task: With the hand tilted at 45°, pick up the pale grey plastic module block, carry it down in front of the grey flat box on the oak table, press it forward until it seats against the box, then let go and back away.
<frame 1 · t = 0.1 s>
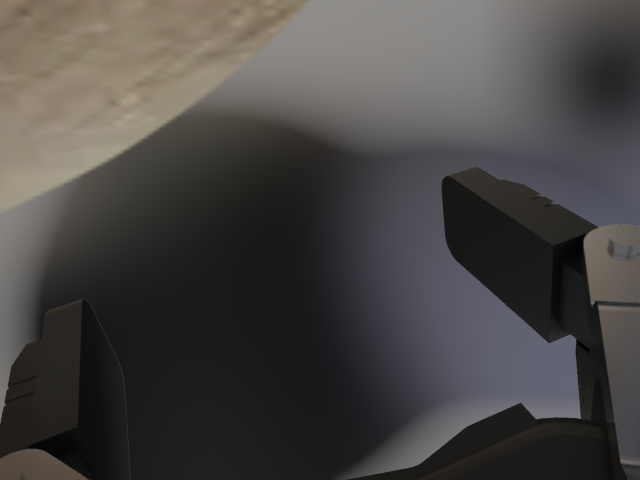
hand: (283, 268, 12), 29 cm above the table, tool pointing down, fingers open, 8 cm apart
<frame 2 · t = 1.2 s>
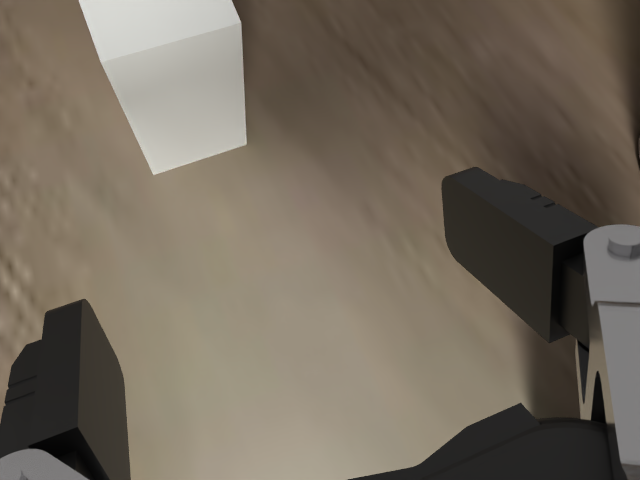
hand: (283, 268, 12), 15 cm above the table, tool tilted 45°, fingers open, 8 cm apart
module: (188, 126, 29), on the table
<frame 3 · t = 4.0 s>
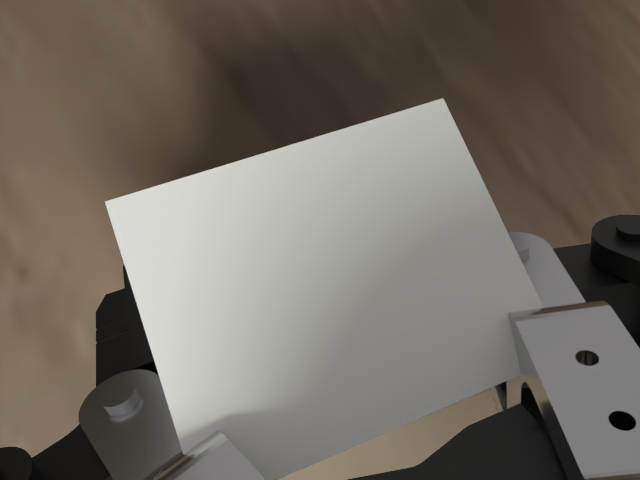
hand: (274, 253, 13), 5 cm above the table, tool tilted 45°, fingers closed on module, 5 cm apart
module: (291, 348, 17), on the table, touching gripper
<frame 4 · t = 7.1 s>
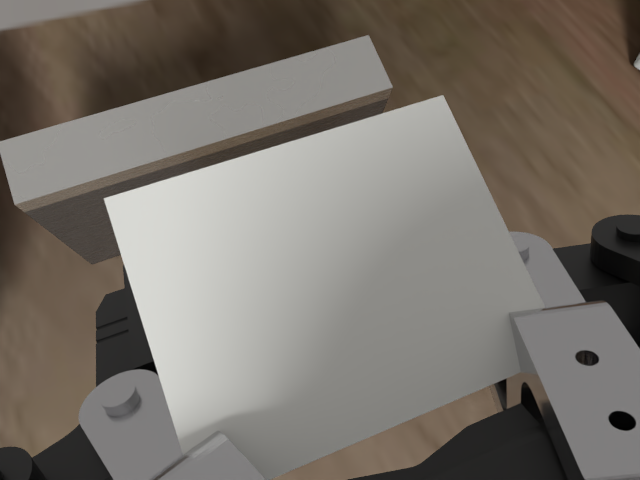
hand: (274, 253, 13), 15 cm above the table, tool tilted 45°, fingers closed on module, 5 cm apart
module: (290, 346, 17), point 10 cm above the table, touching gripper
grey flat box: (222, 196, 29), on the table
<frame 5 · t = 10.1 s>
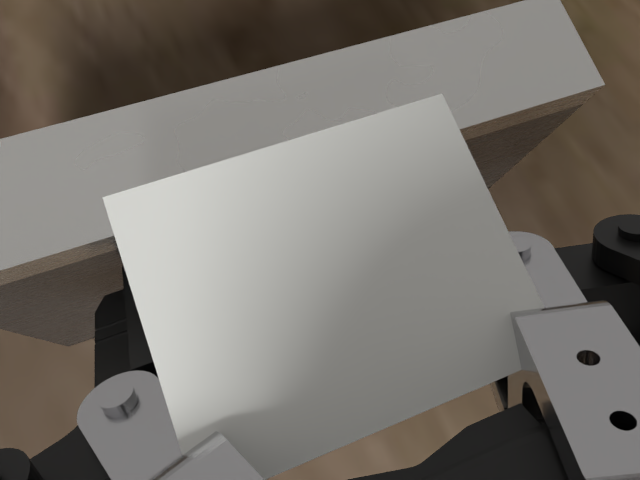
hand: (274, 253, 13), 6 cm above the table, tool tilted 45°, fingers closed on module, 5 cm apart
module: (290, 344, 17), point 2 cm above the table, touching gripper
grey flat box: (266, 242, 19), on the table
when the fingers open (6 cm above the table, at t = 10.5 s): module drops 2 cm, on the table.
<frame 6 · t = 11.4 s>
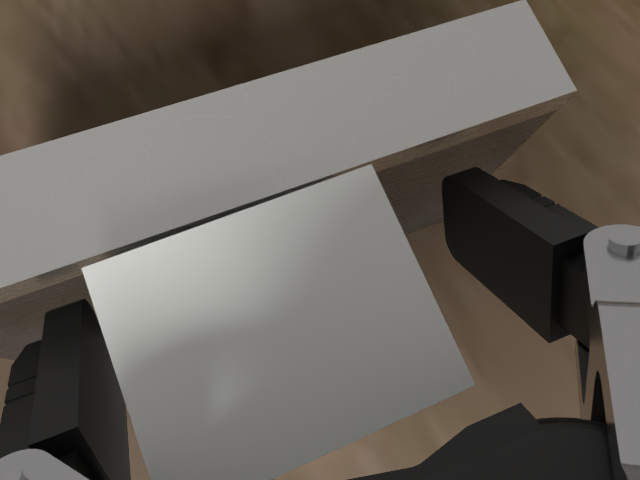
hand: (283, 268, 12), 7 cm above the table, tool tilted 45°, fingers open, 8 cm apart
module: (269, 365, 18), on the table
grey flat box: (251, 255, 19), on the table
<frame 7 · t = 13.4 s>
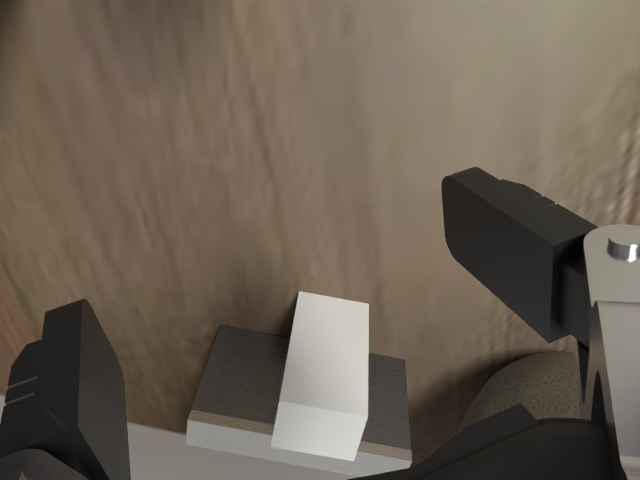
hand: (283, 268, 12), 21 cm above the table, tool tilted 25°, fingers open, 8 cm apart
cantaloupe: (531, 382, 43), on the table
module: (329, 319, 41), on the table
grey flat box: (310, 354, 42), on the table
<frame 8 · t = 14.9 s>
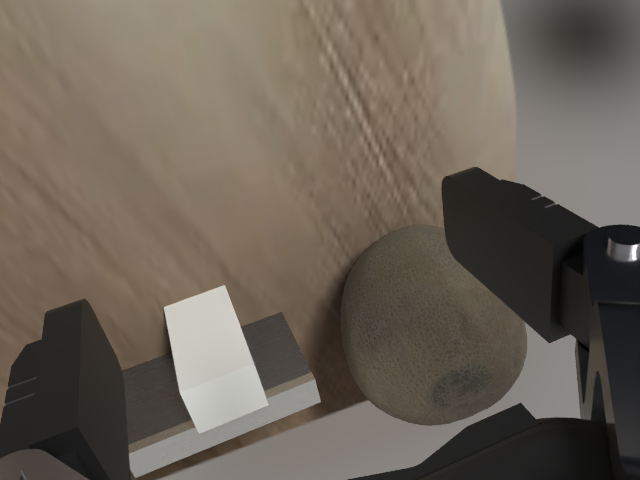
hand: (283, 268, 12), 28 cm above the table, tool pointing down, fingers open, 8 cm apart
cantaloupe: (384, 272, 50), on the table
module: (202, 315, 46), on the table
grey flat box: (206, 352, 47), on the table
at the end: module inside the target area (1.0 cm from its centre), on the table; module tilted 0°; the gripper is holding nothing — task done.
